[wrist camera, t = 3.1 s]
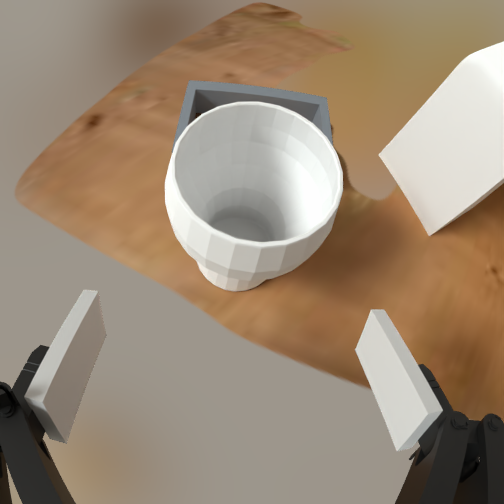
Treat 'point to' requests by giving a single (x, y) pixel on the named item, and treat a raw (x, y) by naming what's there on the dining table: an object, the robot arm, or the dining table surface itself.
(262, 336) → the dining table surface
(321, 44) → the dining table surface
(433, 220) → the milk
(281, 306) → the dining table surface
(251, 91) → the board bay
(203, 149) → the cup
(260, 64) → the dining table surface
